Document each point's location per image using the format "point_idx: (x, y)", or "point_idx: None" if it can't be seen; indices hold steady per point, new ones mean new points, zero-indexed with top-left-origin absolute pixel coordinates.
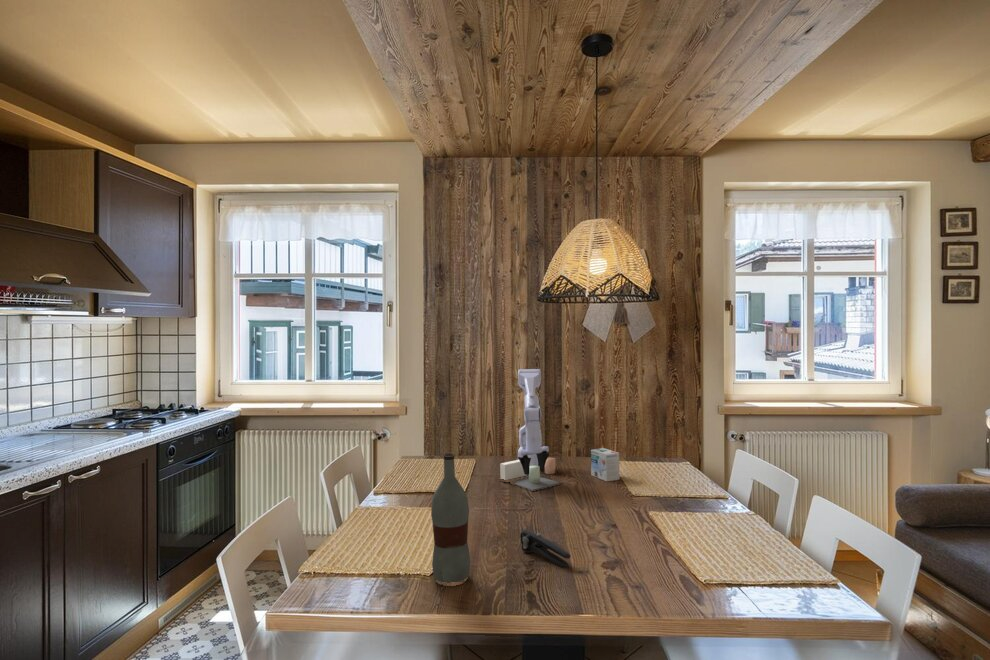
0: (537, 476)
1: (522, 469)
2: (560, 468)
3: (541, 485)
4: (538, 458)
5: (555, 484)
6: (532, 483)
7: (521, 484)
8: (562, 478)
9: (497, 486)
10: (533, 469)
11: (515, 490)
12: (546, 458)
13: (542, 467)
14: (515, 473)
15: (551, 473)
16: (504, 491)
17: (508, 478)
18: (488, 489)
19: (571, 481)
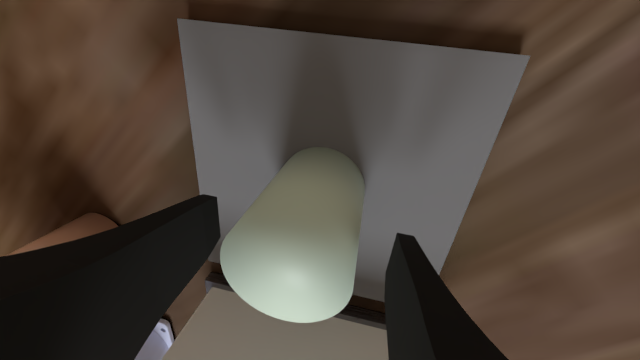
0: (318, 173)
1: (261, 342)
2: (25, 237)
3: (353, 87)
4: (128, 347)
5: (229, 24)
6: (362, 176)
7: (430, 226)
8: (91, 117)
9: (512, 326)
10: (343, 240)
11: (548, 199)
12: (28, 258)
13: (190, 217)
14: (325, 342)
15: (105, 221)
16: (618, 246)
17: (386, 337)
18: (612, 338)
19: (66, 8)
